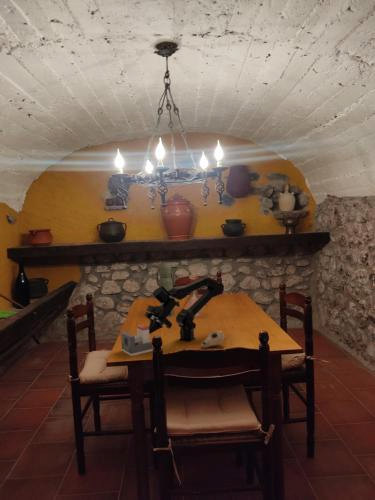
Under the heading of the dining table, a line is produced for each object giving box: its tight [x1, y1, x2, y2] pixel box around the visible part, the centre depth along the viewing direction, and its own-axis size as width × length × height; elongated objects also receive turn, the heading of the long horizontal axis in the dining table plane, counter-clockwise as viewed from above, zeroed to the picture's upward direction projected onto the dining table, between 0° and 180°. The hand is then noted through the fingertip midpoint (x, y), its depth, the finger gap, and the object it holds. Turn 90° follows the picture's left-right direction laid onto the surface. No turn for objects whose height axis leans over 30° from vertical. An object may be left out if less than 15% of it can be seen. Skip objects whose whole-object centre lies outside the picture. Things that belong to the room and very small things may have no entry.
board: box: [121, 348, 153, 357], centre depth 202 cm, size 14×10×1 cm
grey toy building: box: [121, 331, 153, 354], centre depth 201 cm, size 14×10×8 cm
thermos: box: [156, 261, 176, 318], centre depth 271 cm, size 9×12×35 cm
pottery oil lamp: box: [200, 330, 225, 349], centre depth 204 cm, size 9×12×7 cm
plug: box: [134, 324, 151, 345], centre depth 201 cm, size 9×6×10 cm, turn 124°
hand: (147, 333), depth 204 cm, fingers closed
